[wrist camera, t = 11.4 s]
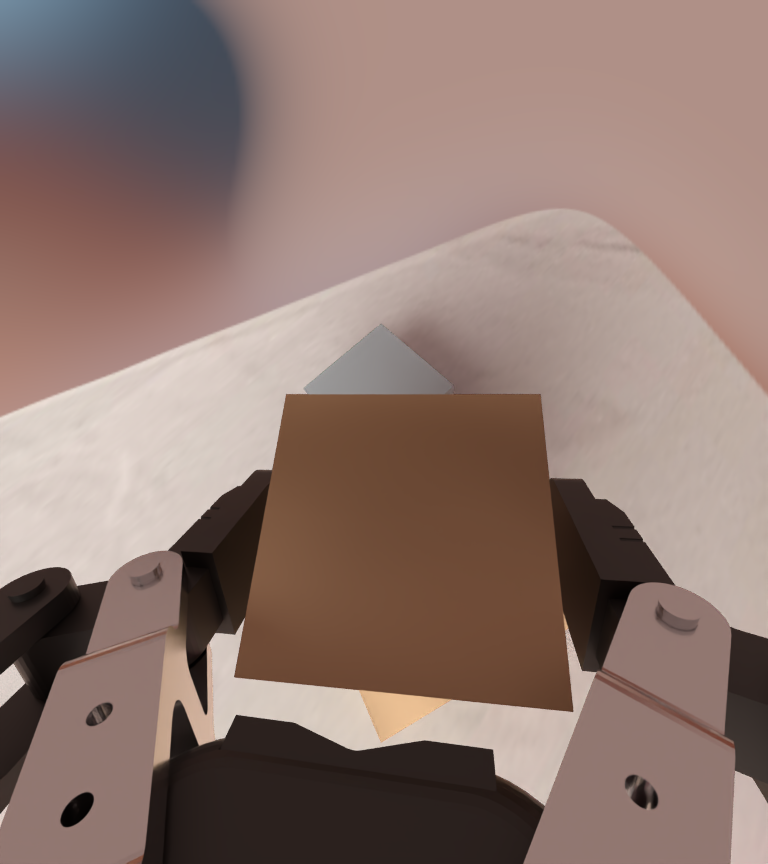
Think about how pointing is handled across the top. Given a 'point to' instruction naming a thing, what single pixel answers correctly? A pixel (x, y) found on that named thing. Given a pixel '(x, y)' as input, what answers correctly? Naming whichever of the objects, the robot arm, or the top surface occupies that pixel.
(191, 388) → the top surface
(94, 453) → the top surface
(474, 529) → the walnut pillar
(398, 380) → the slate block
